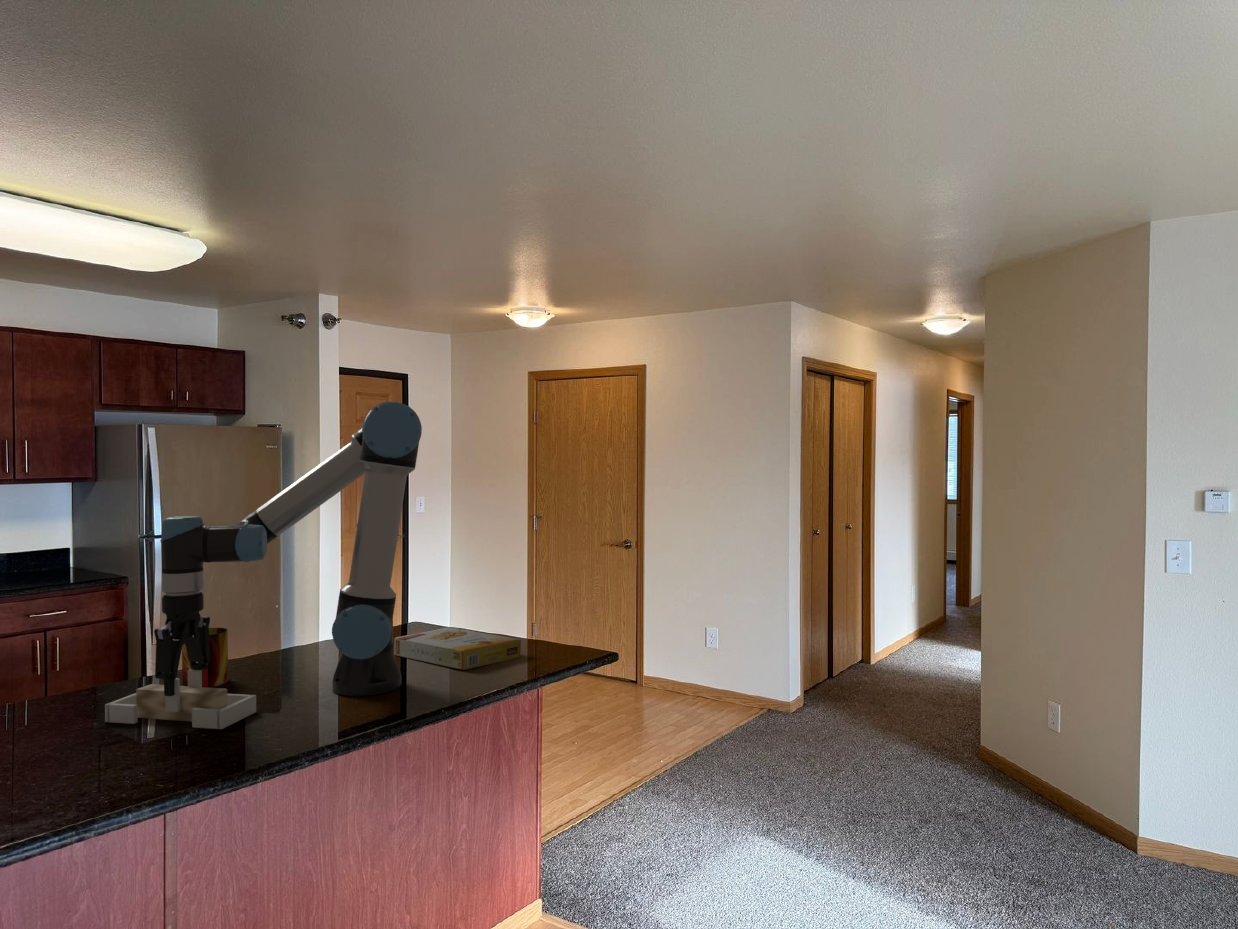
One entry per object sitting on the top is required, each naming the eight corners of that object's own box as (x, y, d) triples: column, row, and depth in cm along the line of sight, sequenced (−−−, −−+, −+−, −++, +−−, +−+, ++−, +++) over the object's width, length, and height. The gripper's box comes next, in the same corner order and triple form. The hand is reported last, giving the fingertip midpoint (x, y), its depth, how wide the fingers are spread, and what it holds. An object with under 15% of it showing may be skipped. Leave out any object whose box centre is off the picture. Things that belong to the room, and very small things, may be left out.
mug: (203, 694, 188) (203, 640, 188) (174, 684, 196) (173, 632, 196) (245, 684, 195) (244, 633, 195) (215, 675, 204) (214, 625, 204)
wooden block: (227, 718, 171) (227, 688, 171) (214, 724, 167) (213, 694, 167) (151, 712, 175) (151, 684, 175) (136, 718, 171) (136, 689, 171)
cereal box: (463, 650, 205) (391, 635, 223) (463, 673, 205) (391, 656, 223) (522, 637, 221) (451, 624, 239) (522, 659, 221) (450, 644, 239)
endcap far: (105, 722, 168) (104, 704, 168) (145, 705, 179) (145, 689, 179) (133, 723, 167) (133, 706, 167) (172, 707, 178) (172, 690, 178)
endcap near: (256, 712, 174) (256, 695, 174) (221, 729, 163) (221, 711, 163) (228, 710, 175) (227, 693, 175) (192, 727, 165) (191, 709, 165)
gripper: (197, 584, 181) (198, 692, 181) (131, 600, 162) (133, 719, 163) (229, 585, 179) (230, 694, 180) (166, 601, 161) (167, 721, 161)
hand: (184, 706), depth 171 cm, fingers open, 6 cm apart
